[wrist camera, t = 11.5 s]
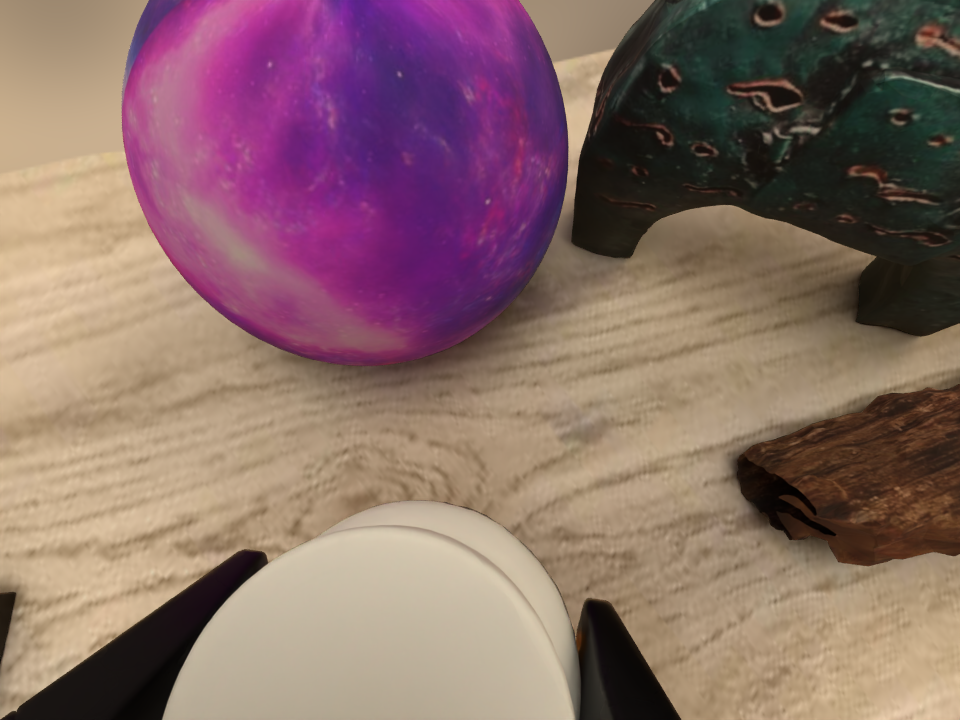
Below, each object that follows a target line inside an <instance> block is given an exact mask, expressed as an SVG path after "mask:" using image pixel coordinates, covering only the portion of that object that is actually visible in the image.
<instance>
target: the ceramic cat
mask: <svg viewBox="0 0 960 720" xmlns="http://www.w3.org/2000/svg"><path fill="white" fill-rule="evenodd" d="M715 205H733V206H737V207H740V208H742V209H744V210H746V211H748V212H750V213H752V214H755V215H758V216H761V217H764V218H768V219H774V220H779V221H783V222H787V223H790V224H792V225H794V226H797V227H799V228H802V229H805V230H808V231H811V232H813V233H816V234H819V235H821V236H823V237H825V238H827V239H829V240H831V241H834V242H836V243H839V244H842V245H845V246H848V247H850V248H853V249H856V250H859V251H862V252H865V253H868V254H871V255H874V256H877V257H876V258H875V259H874V260H873V261H872V262H871V263H870V264H869V265H868V266H867V267H866V268H865V270H864V271H863V272H862V276H861V279H860V284H859V311H858V317H857V320H856V322H860V323H864V324H872V325H882V326H888V327H892V328H896V329H899V330H902V331H904V332H907V333H910V334H913V335H917V336H926V335H930V334H932V333H935V332H938V331H940V330H943V329H945V328H948V327H950V326H953V325H956V324H959V323H960V0H655V1H654V2H653V3H652V4H651V6H650V7H649V8H648V9H647V10H646V11H645V12H644V14H643V15H642V16H641V17H640V18H639V20H637V21H636V22H635V23H634V24H633V25H632V27H631V28H630V30H629V31H628V32H627V33H626V35H625V36H624V38H623V39H622V41H621V42H620V44H619V45H618V47H617V48H616V50H615V51H614V53H613V55H612V57H611V59H610V60H609V62H608V64H607V66H606V68H605V70H604V72H603V75H602V78H601V80H600V83H599V86H598V88H597V93H596V98H595V103H594V109H593V114H592V117H591V121H590V124H589V128H588V131H587V134H586V137H585V141H584V144H583V147H582V150H581V154H580V158H579V165H578V174H577V184H576V193H575V201H574V220H573V229H572V241H571V242H572V243H573V244H575V245H577V246H579V247H582V248H584V249H587V250H589V251H592V252H594V253H597V254H601V255H606V256H611V257H615V258H616V257H623V258H630V257H631V256H632V255H633V252H634V250H635V248H636V245H637V244H638V242H639V240H640V239H641V237H642V236H643V235H644V234H645V233H646V232H647V230H648V228H650V227H651V226H652V225H653V224H654V223H655V222H656V221H658V220H660V219H661V218H664V217H667V216H669V215H672V214H675V213H678V212H681V211H685V210H689V209H694V208H699V207H706V206H715Z"/></svg>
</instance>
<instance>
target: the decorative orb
mask: <svg viewBox="0 0 960 720" xmlns="http://www.w3.org/2000/svg"><path fill="white" fill-rule="evenodd" d="M122 131H123V142H124V148H125V153H126V159H127V164H128V168H129V172H130V176H131V180H132V183H133V186H134V190H135V192H136V195H137V198H138V201H139V203H140V206H141V208H142V210H143V213H144V215H145V217H146V219H147V222H148V224H149V226H150V228H151V230H152V232H153V233H154V235H155V237H156V239H157V240H158V242H159V244H160V245H161V247H162V249H163V250H164V252H165V253H166V255H167V256H168V258H169V259H170V261H171V262H172V264H173V265H174V266H175V267H176V269H177V270H178V271H179V272H180V274H181V275H182V276H183V277H184V279H185V280H186V281H187V282H188V283H189V284H190V285H191V286H192V287H193V289H194V290H195V291H196V292H197V293H198V294H199V295H200V296H201V297H202V298H203V299H204V300H205V301H207V302H208V303H209V304H210V305H211V306H212V307H213V308H214V309H216V310H217V311H218V312H219V313H221V314H222V315H223V316H224V317H226V318H227V319H228V320H230V321H231V322H232V323H234V324H235V325H237V326H239V327H240V328H242V329H243V330H245V331H246V332H248V333H249V334H251V335H253V336H255V337H257V338H258V339H260V340H262V341H265V342H267V343H269V344H271V345H273V346H275V347H277V348H280V349H282V350H285V351H287V352H290V353H293V354H296V355H299V356H302V357H306V358H309V359H313V360H318V361H323V362H328V363H333V364H341V365H353V366H378V365H389V364H396V363H403V362H407V361H412V360H416V359H420V358H423V357H426V356H429V355H432V354H435V353H438V352H441V351H443V350H445V349H448V348H450V347H452V346H454V345H456V344H458V343H460V342H462V341H463V340H465V339H467V338H469V337H470V336H472V335H474V334H475V333H477V332H478V331H479V330H481V329H482V328H484V327H485V326H486V325H487V324H489V323H490V322H491V321H493V320H494V319H495V318H496V317H497V316H498V315H500V314H501V313H502V312H503V311H504V310H505V309H506V308H507V307H508V306H509V305H510V304H511V303H512V302H513V301H514V299H515V298H516V297H517V296H518V295H519V294H520V292H521V291H522V290H523V288H524V287H525V286H526V285H527V283H528V282H529V281H530V279H531V278H532V276H533V275H534V273H535V271H536V270H537V268H538V266H539V265H540V263H541V261H542V259H543V257H544V255H545V253H546V251H547V249H548V247H549V244H550V242H551V240H552V237H553V235H554V232H555V230H556V227H557V223H558V220H559V217H560V213H561V209H562V205H563V201H564V195H565V190H566V183H567V173H568V130H567V121H566V114H565V108H564V103H563V97H562V94H561V90H560V86H559V82H558V79H557V75H556V72H555V69H554V67H553V64H552V61H551V58H550V56H549V54H548V51H547V49H546V47H545V45H544V43H543V40H542V38H541V36H540V35H539V32H538V31H537V29H536V27H535V25H534V23H533V22H532V20H531V18H530V17H529V15H528V13H527V12H526V11H525V9H524V7H523V6H522V4H521V3H520V1H519V0H149V1H148V3H147V6H146V8H145V10H144V12H143V14H142V16H141V18H140V20H139V23H138V25H137V28H136V30H135V34H134V37H133V40H132V43H131V46H130V49H129V53H128V57H127V62H126V68H125V74H124V79H123V88H122Z"/></svg>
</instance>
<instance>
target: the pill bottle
mask: <svg viewBox="0 0 960 720" xmlns="http://www.w3.org/2000/svg"><path fill="white" fill-rule="evenodd" d="M580 706H581V676H580V665H579V657H578V651H577V645H576V640H575V634H574V630H573V627H572V624H571V621H570V618H569V615H568V612H567V609H566V606H565V603H564V601H563V599H562V596H561V594H560V591H559V589H558V587H557V586H556V584H555V583H554V581H553V579H552V578H551V577H550V575H549V574H548V573H547V571H546V570H545V568H544V567H543V565H542V564H541V563H540V561H539V560H538V559H537V558H536V557H535V555H534V554H533V553H532V552H531V551H530V550H529V549H528V548H527V547H526V546H525V545H524V544H523V543H522V542H521V541H520V540H519V539H518V538H516V537H515V536H514V535H513V534H512V533H511V532H509V531H508V530H507V529H506V528H505V527H503V526H502V525H500V524H498V523H497V522H495V521H494V520H492V519H491V518H489V517H488V516H486V515H484V514H482V513H480V512H477V511H475V510H472V509H469V508H467V507H462V506H456V505H453V504H450V503H447V502H437V501H426V500H411V501H399V502H392V503H385V504H382V505H378V506H374V507H371V508H369V509H367V510H364V511H362V512H359V513H357V514H354V515H352V516H350V517H348V518H346V519H344V520H342V521H341V522H339V523H337V524H335V525H334V526H332V527H330V528H329V529H327V530H326V531H324V532H323V533H321V534H320V535H319V536H317V537H316V538H314V539H312V540H310V541H307V542H305V543H302V544H300V545H298V546H297V547H295V548H293V549H291V550H289V551H287V552H285V553H283V554H282V555H280V556H278V557H277V558H275V559H274V560H272V561H271V562H270V563H268V564H267V565H266V566H264V567H263V568H262V569H260V570H259V571H258V572H257V573H256V574H254V575H253V576H252V577H251V578H249V579H248V580H247V581H246V582H245V583H244V584H242V585H241V586H240V587H239V588H238V589H237V590H236V591H235V592H234V593H233V594H232V595H231V596H230V597H229V598H228V599H227V600H226V601H225V603H224V604H223V605H222V606H221V607H220V608H219V610H218V611H217V612H216V613H215V615H214V616H213V617H212V619H211V620H210V621H209V622H208V624H207V625H206V626H205V628H204V629H203V631H202V632H201V634H200V636H199V637H198V639H197V640H196V642H195V643H194V645H193V647H192V649H191V651H190V653H189V655H188V657H187V659H186V661H185V662H184V664H183V666H182V668H181V670H180V672H179V675H178V677H177V679H176V682H175V684H174V686H173V689H172V692H171V694H170V697H169V699H168V702H167V706H166V709H165V712H164V715H163V718H162V720H579V717H580Z"/></svg>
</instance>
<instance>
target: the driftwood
mask: <svg viewBox="0 0 960 720" xmlns="http://www.w3.org/2000/svg"><path fill="white" fill-rule="evenodd" d="M737 461H738V472H737V475H738V478H739V481H740V484H741V491H742V494H743V495H744V496H745V498H746V499H747V500H748V501H750V502H752V503H754V505H755V506H756V507H757V508H758V509H759V511H760V512H761V513H762V514H763V515H765V516H766V517H768V519H769V522H770V525H771V526H772V527H774V528H775V529H777V530H782V531H784V533H785V534H786V535H787V537H788V538H789V540H802V539H805V538H807V537H808V536H810V535H811V536H814V537H817V538H821V539H824V540H827V542H828V544H829V547H830V548H831V550H832V552H833V554H834V556H835V557H836V559H837V561H838V562H841V563H848V564H855V565H863V566H872V565H876V564H880V563H884V562H888V561H890V560H892V559H906V558H910V557H914V556H918V555H922V554H926V553H931V552H937V553H942V554H946V555H951V556H956V555H959V554H960V384H958V385H956V386H954V387H952V388H950V389H946V390H938V389H933V388H928V387H927V388H925V389H924V390H922V391H918V392H912V393H904V394H901V393H890V394H886V395H881V396H878V397H877V398H876V399H875V400H874V401H873V402H871V403H870V404H869V405H868V406H867V408H866V409H865V410H864V411H863V412H861V413H852V414H846V415H843V416H840V417H837V418H833V419H828V420H824V421H821V422H817V423H814V424H811V425H809V426H807V427H805V428H803V429H801V430H799V431H797V432H795V433H792V434H789V435H786V436H783V437H780V438H777V439H774V440H771V441H766V442H762V443H759V444H756V445H753V446H752V447H750V448H749V449H748V450H747V451H745V452H744V453H743V454H742V455H740V456H739V458H738V460H737Z"/></svg>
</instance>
